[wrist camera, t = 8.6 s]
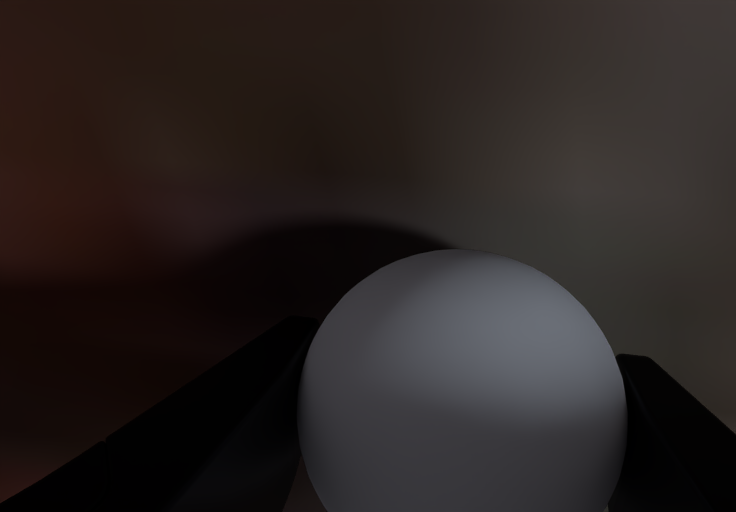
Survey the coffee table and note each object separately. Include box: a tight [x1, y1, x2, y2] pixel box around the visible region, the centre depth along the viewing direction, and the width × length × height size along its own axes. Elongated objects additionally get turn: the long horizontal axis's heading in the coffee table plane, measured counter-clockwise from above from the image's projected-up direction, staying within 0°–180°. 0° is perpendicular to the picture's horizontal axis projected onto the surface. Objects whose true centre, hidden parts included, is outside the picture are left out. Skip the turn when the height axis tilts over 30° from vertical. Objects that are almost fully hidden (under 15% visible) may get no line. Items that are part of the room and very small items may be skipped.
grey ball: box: [296, 249, 628, 512], centre depth 8 cm, size 4×4×4 cm
